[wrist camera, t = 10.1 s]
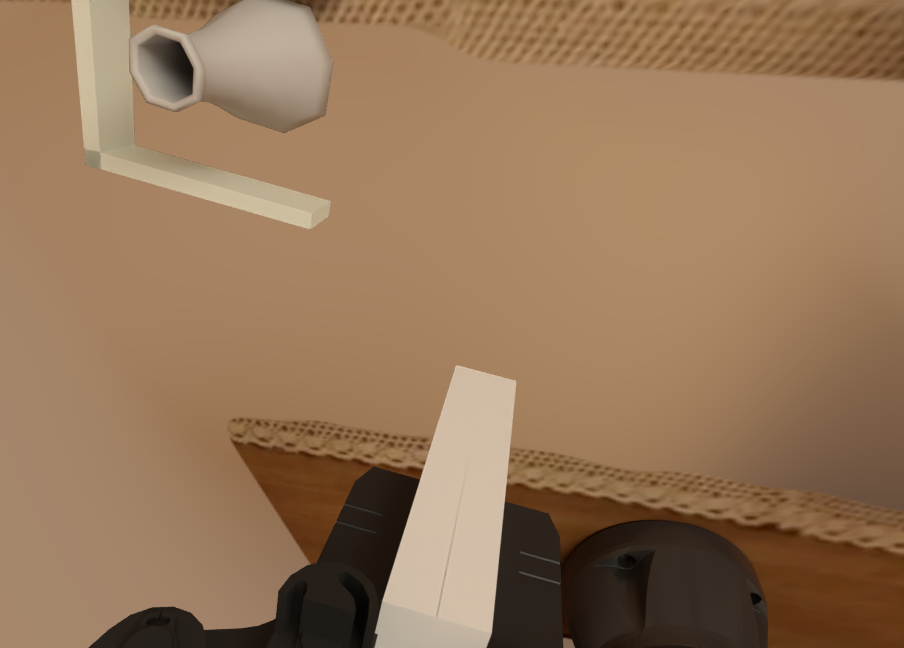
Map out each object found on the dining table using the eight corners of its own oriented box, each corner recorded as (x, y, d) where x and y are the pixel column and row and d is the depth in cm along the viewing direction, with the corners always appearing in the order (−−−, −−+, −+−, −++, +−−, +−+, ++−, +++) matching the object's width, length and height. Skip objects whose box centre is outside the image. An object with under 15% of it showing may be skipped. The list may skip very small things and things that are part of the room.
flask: (230, 133, 33) (113, 163, 24) (201, -5, 30) (53, -30, 21) (343, 130, 32) (264, 160, 23) (325, -14, 28) (225, -45, 20)
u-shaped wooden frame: (328, 216, 34) (310, 229, 31) (120, 156, 35) (85, 165, 32) (363, -43, 28) (343, -54, 25) (106, -112, 28) (60, -130, 25)
